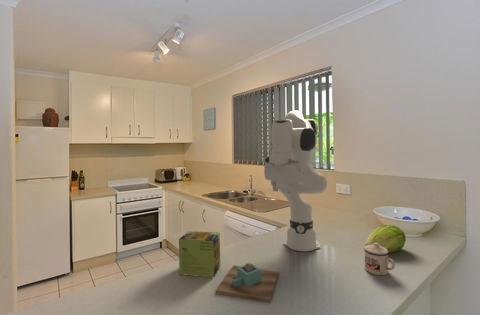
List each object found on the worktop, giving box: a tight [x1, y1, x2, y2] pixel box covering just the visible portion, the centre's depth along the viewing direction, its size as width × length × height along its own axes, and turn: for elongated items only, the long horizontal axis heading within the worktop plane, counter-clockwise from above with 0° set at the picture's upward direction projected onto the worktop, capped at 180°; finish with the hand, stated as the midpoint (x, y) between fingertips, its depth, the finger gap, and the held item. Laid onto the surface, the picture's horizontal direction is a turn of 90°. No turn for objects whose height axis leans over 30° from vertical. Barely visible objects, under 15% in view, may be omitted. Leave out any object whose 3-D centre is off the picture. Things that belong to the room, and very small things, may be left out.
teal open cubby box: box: [232, 264, 262, 287], centre depth 97 cm, size 10×7×5 cm, turn 123°
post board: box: [215, 262, 280, 303], centre depth 98 cm, size 20×20×7 cm
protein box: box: [178, 230, 221, 278], centre depth 108 cm, size 10×15×16 cm
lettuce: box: [364, 224, 407, 253], centre depth 125 cm, size 13×22×14 cm
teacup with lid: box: [363, 243, 396, 276], centre depth 104 cm, size 12×9×12 cm
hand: (282, 192), depth 102 cm, fingers open, 8 cm apart
